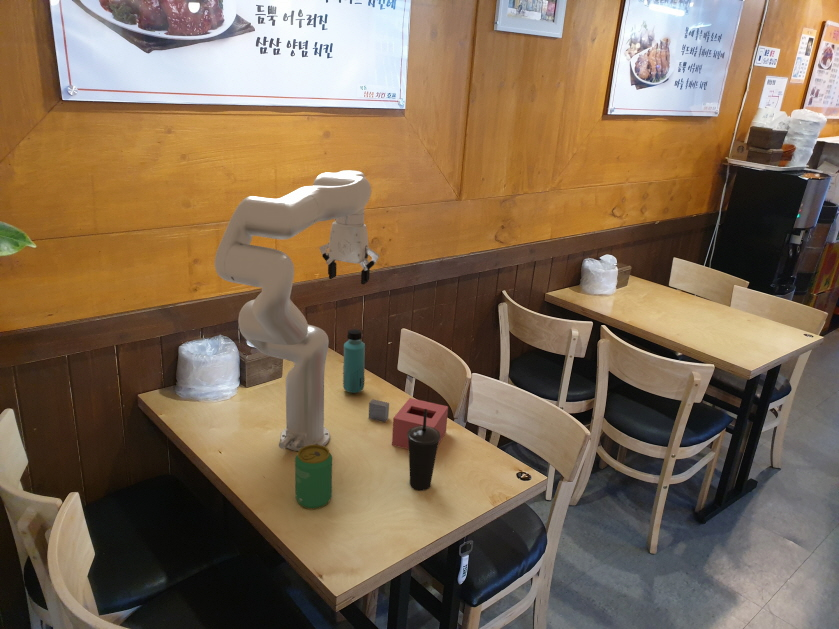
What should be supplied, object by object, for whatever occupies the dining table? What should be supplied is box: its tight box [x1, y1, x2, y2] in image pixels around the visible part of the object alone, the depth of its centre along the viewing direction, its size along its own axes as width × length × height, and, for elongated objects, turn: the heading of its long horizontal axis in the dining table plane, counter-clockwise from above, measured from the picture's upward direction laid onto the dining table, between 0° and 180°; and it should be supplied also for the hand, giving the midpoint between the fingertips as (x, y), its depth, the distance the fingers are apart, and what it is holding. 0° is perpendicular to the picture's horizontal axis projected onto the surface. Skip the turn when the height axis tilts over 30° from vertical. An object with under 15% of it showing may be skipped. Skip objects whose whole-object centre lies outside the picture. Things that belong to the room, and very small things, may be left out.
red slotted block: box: [391, 397, 449, 450], centre depth 164 cm, size 12×11×8 cm
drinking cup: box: [407, 409, 441, 492], centre depth 143 cm, size 8×8×20 cm
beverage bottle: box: [342, 328, 366, 394], centre depth 184 cm, size 6×7×20 cm
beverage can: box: [294, 445, 333, 510], centre depth 137 cm, size 8×8×12 cm
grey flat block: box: [368, 398, 390, 423], centre depth 173 cm, size 2×5×5 cm, turn 70°
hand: (348, 280), depth 170 cm, fingers open, 9 cm apart
